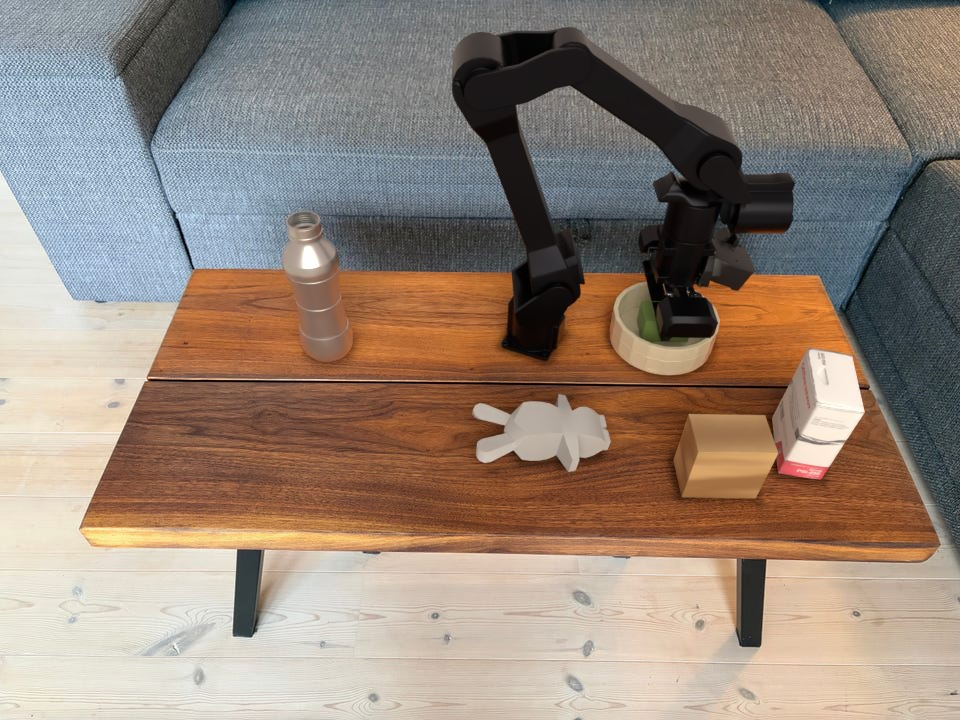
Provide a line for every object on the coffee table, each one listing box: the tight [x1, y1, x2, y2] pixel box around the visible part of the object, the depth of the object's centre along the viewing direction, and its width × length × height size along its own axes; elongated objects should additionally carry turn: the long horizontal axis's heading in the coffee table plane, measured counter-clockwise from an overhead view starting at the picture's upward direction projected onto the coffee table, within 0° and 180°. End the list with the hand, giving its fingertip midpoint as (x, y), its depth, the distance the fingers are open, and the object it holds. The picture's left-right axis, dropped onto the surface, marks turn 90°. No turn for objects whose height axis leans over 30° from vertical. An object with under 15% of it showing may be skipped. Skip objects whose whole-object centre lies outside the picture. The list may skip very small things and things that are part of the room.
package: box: [637, 301, 689, 342], centre depth 92 cm, size 4×6×4 cm, turn 89°
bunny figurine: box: [471, 393, 612, 473], centre depth 80 cm, size 10×5×15 cm
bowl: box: [609, 281, 721, 376], centre depth 93 cm, size 13×13×4 cm
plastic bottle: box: [280, 210, 354, 363], centre depth 85 cm, size 6×7×20 cm
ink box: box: [771, 347, 866, 481], centre depth 78 cm, size 9×5×12 cm, turn 168°
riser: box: [673, 413, 778, 499], centre depth 76 cm, size 5×8×8 cm, turn 89°
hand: (661, 329), depth 93 cm, fingers closed on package, 4 cm apart
